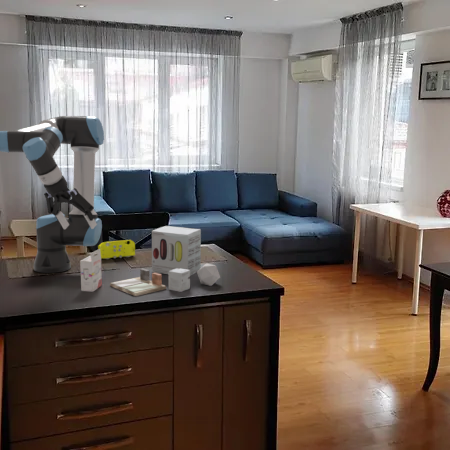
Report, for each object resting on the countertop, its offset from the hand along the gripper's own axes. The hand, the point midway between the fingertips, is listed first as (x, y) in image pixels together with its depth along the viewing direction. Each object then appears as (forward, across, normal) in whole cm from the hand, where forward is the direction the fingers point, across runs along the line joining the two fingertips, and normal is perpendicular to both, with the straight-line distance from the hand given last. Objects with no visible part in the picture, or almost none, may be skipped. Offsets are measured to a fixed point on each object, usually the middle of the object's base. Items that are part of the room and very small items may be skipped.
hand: (80, 226), depth 216 cm
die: (+40, +34, +13) cm, 54 cm away
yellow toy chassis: (+43, -25, +30) cm, 58 cm away
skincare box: (+34, +28, +3) cm, 44 cm away
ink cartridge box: (+23, -1, -9) cm, 25 cm away
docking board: (+29, +13, -2) cm, 32 cm away
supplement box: (+43, +13, +22) cm, 50 cm away
